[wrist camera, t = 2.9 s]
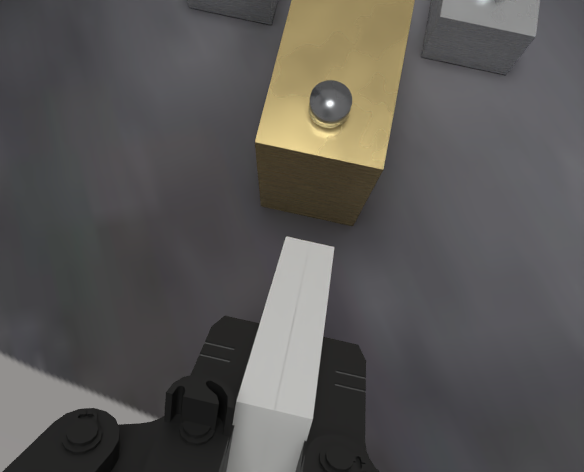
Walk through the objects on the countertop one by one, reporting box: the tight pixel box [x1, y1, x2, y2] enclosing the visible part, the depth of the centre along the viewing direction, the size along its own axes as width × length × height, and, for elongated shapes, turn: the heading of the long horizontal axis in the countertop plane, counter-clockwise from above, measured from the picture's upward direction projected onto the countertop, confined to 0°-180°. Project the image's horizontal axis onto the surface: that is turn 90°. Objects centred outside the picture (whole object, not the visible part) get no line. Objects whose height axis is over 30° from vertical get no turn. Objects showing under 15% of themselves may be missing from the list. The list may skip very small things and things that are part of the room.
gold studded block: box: [255, 0, 415, 226], centre depth 24 cm, size 12×5×9 cm, turn 167°
